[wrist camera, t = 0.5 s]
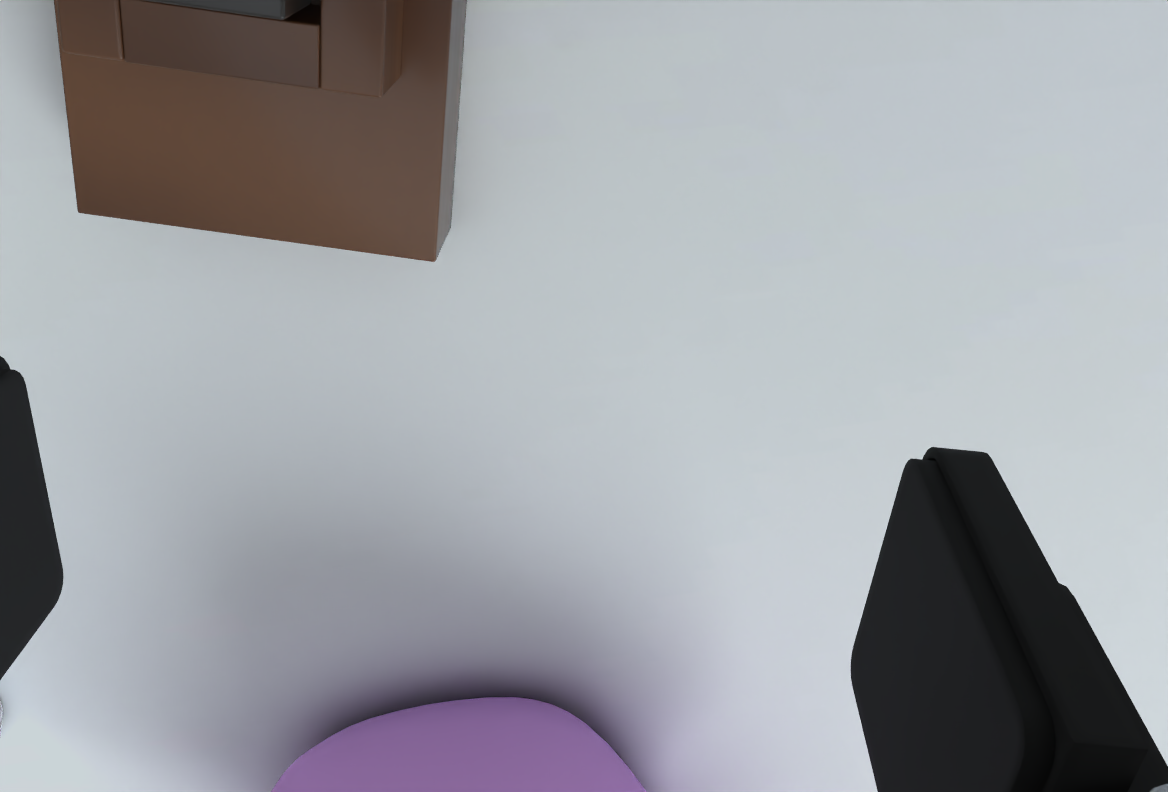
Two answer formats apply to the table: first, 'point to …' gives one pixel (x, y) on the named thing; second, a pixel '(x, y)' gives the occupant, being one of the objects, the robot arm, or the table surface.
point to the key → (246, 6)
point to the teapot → (464, 752)
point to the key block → (269, 119)
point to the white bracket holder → (1, 716)
